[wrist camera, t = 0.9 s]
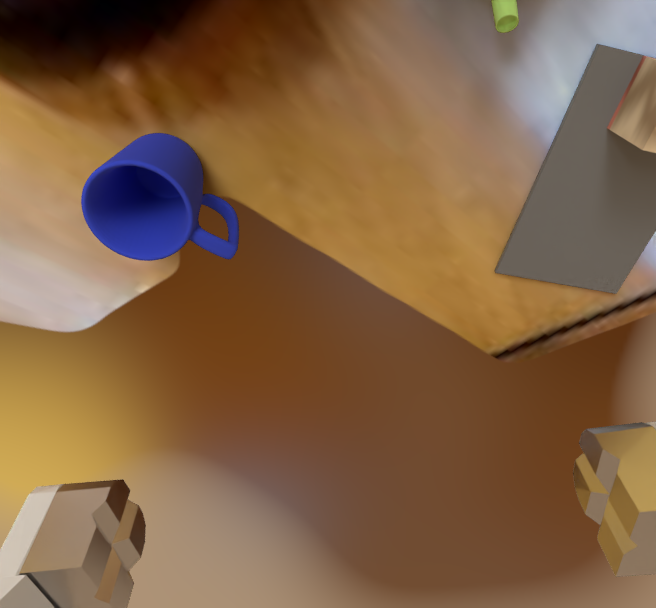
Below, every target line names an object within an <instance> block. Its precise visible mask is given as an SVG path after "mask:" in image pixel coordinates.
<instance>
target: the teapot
mask: <svg viewBox="0 0 656 608" xmlns="http://www.w3.org/2000/svg"><path fill="white" fill-rule="evenodd" d="M491 3H492V9H493V15H494V21H495V27H496V30H497V31H498V32H500V33H506V32H510V31H512V30H513V29H515V28H516V27H517V25H518V23H519V18H518V10H517V1H516V0H491Z"/></svg>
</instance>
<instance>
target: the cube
mask: <svg viewBox="0 0 656 608" xmlns="http://www.w3.org/2000/svg"><path fill="white" fill-rule="evenodd" d="M607 128H608V129H609V130H611V131H612V132H614V133H616V134H617V135H619V136H620V137H622V138H624V139H625V140H627V141H629V142H630V143H632V144H633V145H635V146H637V147H638V148H640V149H641V150H644V151H649V152H653V153H656V59H655V58H651V57H647V56H643V57H642V59H641V61H640V63H639V65H638V67H637V69H636V71H635V73H634V75H633V77H632V79H631V81H630V83H629V85H628V87H627V89H626V91H625V93H624V95H623V97H622V99H621V101H620V103H619V105H618V107H617V109H616V111H615V113H614V115H613V117H612V119H611V121H610V123H609V125H608V127H607Z"/></svg>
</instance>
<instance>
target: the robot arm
mask: <svg viewBox="0 0 656 608" xmlns="http://www.w3.org/2000/svg"><path fill="white" fill-rule="evenodd" d="M579 444H580V446H581V448H582V450H583V452H584V453H583V454H582V455H581V456H580V457H578V458H577V459H576V460H575V465H574V471H573V476H574V484H575V490H576V493H577V496H578V499H579V501H580V504H581V506H582V508H583V510H584V512H585V514H586V515H587V516H589V517H590V518H591V519H593V520H594V521H595V522H597V523H598V524H599V525H600V529H599V532H598V536H597V539H598V542H599V544H600V546H601V548H602V550H603V552H604V554H605V556H606V558H607V560H608V562H609V564H610V566H611V568H612V570H613V572H614V574H615V576H616V577H620V576H636V575H651V574H656V422H649V423H642V422H641V423H633V424H624V425H616V426H608V427H599V428H591V429H586V430H585V431H584V432H583V433H582V434H581V438H580V442H579ZM129 493H130V489H129V488H128V486H127V485H126V483H125V482H124V480H112V481H98V482H85V483H73V484H61V485H51V486H41V487H36V488H35V489H34V490H33V491H32V492H31V493H30V494H29V495H28V496H27V499H26V500H25V502H24V504H23V506H22V508H21V510H20V512H19V514H18V516H17V518H16V520H15V522H14V524H13V526H12V528H11V530H10V532H9V534H8V536H7V538H6V540H5V542H4V544H3V546H2V548H1V550H0V608H127V607H128V603H129V600H130V596H131V592H132V589H133V585H134V582H133V579H132V577H131V575H130V573H129V571H130V569H131V568H132V567H133V566H134V565H135V564H136V563H137V562H138V561H139V559H140V558H141V555H142V551H143V547H144V543H145V527H146V525H145V521H144V517H143V513H142V511H141V509H140V507H139V505H137V504H135V503H133V502H131V501H129V500H128V496H129Z"/></svg>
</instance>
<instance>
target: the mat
mask: <svg viewBox="0 0 656 608" xmlns="http://www.w3.org/2000/svg"><path fill="white" fill-rule="evenodd" d="M643 56H644V55H640V54H636V53H632V52H628V51H624V50H619V49H615V48H611V47H607V46H603V45H599V44H597V45H596V47H595V50H594V52H593V54H592V56H591V58H590V61H589V63H588V65H587V67H586V69H585V72H584V74H583V76H582V78H581V81H580V83H579V85H578V87H577V89H576V92H575V94H574V96H573V98H572V100H571V103H570V105H569V107H568V109H567V112H566V114H565V116H564V118H563V120H562V123H561V125H560V127H559V129H558V131H557V134H556V136H555V138H554V140H553V143H552V145H551V147H550V149H549V151H548V154H547V156H546V158H545V160H544V162H543V165H542V167H541V169H540V171H539V174H538V176H537V178H536V180H535V182H534V185H533V187H532V189H531V191H530V193H529V196H528V198H527V200H526V202H525V204H524V207H523V209H522V211H521V213H520V216H519V218H518V220H517V222H516V224H515V227H514V229H513V231H512V233H511V235H510V238H509V240H508V242H507V244H506V247H505V249H504V251H503V253H502V255H501V258H500V260H499V262H498V264H497V266H496V269H495V273H500V274H505V275H511V276H517V277H523V278H528V279H534V280H540V281H546V282H552V283H557V284H563V285H569V286H575V287H581V288H586V289H592V290H598V291H604V292H609V293H615V294H616V293H617V292H618V290H619V289H620V287H621V285H622V284H623V282H624V281H625V279H626V277H627V276H628V274H629V273H630V271H631V269H632V268H633V266H634V264H635V263H636V261H637V260H638V258H639V256H640V255H641V253H642V252H643V250H644V248H645V247H646V245H647V244H648V242H649V240H650V239H651V237H652V235H653V234H654V232H655V231H656V153H653V152H649V151H644V150H641V149H640V148H638V147H637V146H635V145H633V144H632V143H630V142H629V141H627V140H625V139H624V138H622V137H620V136H619V135H617V134H616V133H614V132H612V131H611V130H609V129H608V128H607V127H608V125H609V123H610V121H611V119H612V117H613V115H614V113H615V111H616V109H617V107H618V105H619V103H620V101H621V99H622V97H623V95H624V93H625V91H626V89H627V87H628V85H629V83H630V81H631V79H632V77H633V75H634V73H635V71H636V69H637V67H638V65H639V63H640V61H641V59H642V57H643ZM647 57H648V56H647ZM651 58H652V57H651ZM655 59H656V58H655Z"/></svg>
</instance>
